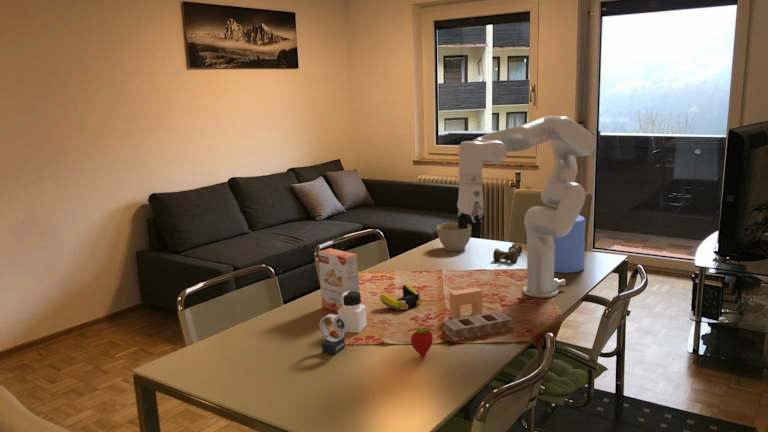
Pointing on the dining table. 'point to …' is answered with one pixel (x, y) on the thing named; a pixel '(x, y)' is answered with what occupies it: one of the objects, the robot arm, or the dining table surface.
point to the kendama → (508, 253)
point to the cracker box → (337, 276)
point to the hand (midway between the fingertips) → (469, 231)
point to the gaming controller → (402, 299)
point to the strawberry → (422, 340)
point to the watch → (333, 343)
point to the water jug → (570, 249)
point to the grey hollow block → (478, 325)
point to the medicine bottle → (353, 312)
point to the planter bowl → (453, 236)
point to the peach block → (465, 301)
